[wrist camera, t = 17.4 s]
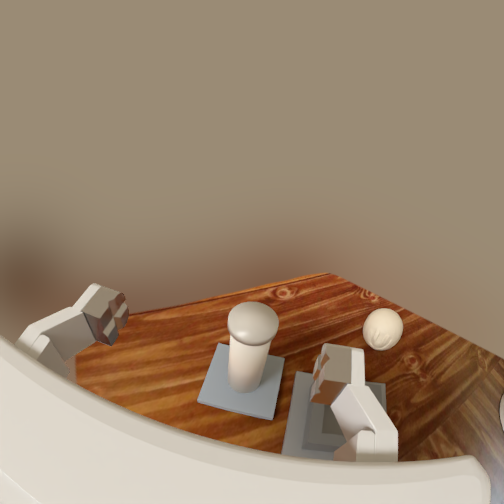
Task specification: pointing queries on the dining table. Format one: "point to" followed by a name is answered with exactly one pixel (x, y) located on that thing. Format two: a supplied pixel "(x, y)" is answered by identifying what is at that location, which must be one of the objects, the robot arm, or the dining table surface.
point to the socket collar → (316, 422)
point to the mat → (244, 403)
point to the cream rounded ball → (382, 329)
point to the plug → (249, 344)
